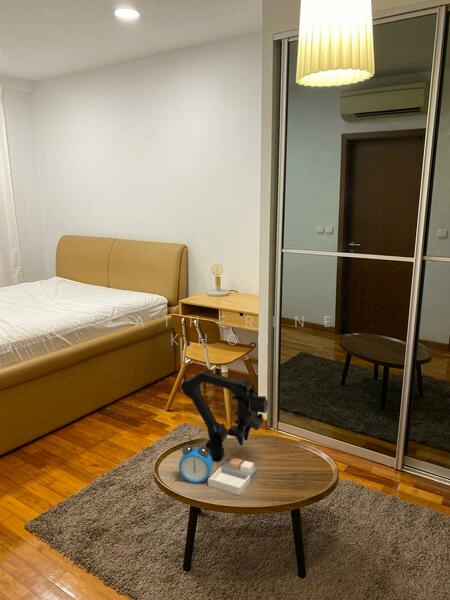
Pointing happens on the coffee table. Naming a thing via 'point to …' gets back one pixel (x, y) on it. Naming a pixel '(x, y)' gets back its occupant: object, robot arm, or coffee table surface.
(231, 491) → the tray
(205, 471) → the alarm clock
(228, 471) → the slate plate
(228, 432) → the robot arm
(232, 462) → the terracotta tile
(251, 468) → the cream block
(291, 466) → the coffee table surface
